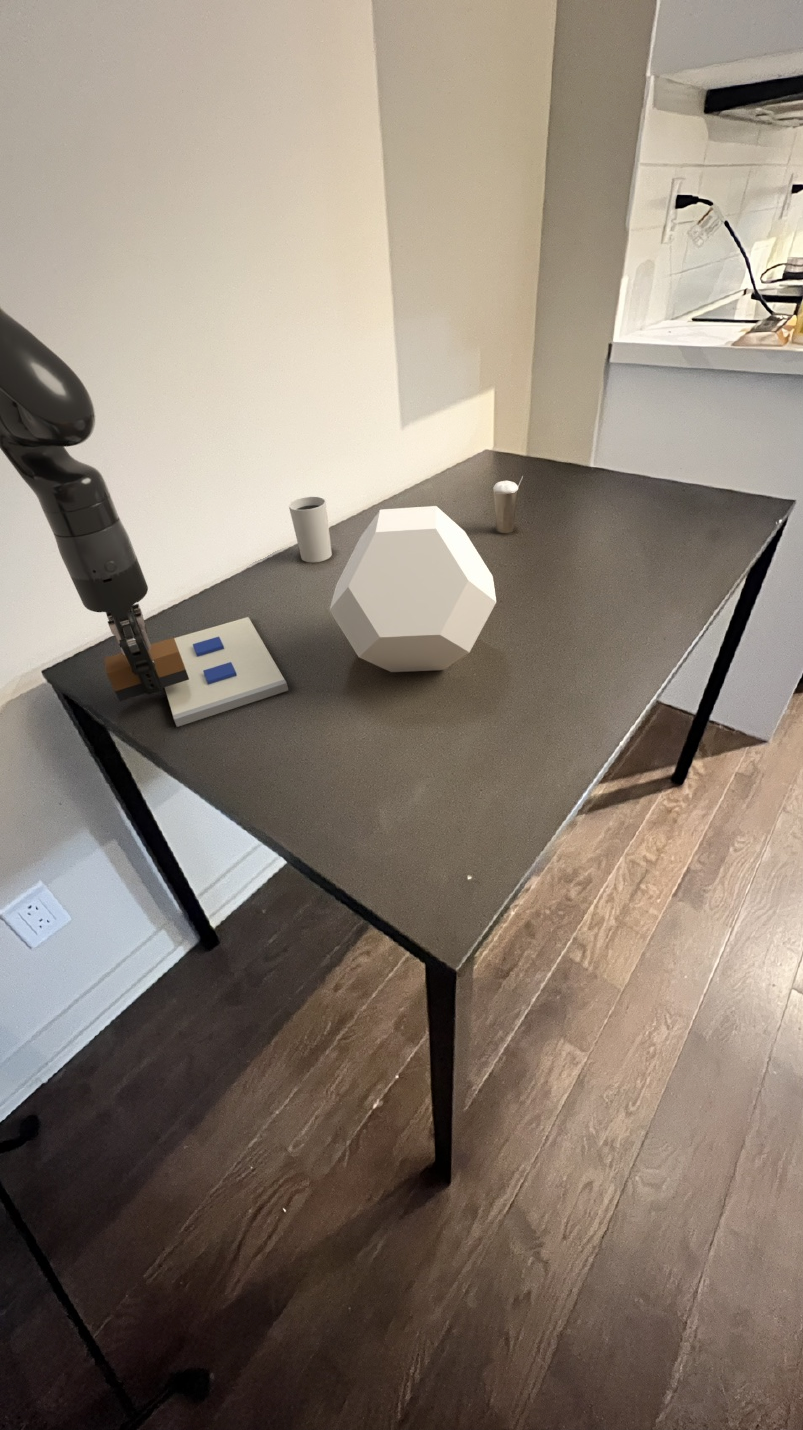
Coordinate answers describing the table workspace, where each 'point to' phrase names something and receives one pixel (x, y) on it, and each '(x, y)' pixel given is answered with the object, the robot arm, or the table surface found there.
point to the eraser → (165, 665)
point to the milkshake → (505, 505)
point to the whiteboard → (248, 686)
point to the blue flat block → (208, 646)
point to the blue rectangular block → (219, 673)
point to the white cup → (311, 528)
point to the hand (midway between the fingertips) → (152, 681)
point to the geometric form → (413, 592)
